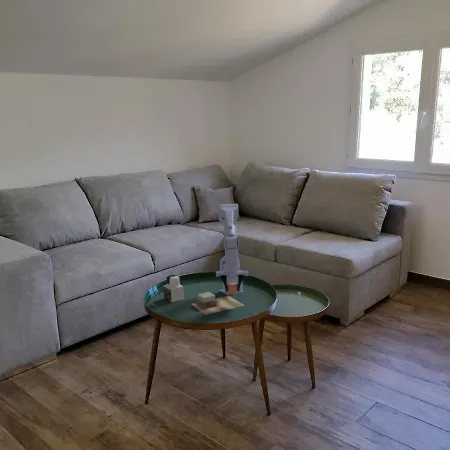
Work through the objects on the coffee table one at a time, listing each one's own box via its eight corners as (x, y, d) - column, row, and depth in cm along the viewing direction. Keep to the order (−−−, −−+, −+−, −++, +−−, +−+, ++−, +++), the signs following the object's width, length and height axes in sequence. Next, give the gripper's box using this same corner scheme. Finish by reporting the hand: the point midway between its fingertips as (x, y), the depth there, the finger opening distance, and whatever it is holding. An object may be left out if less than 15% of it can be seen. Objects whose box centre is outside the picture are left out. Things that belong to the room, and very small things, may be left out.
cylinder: (234, 290, 227) (234, 282, 226) (239, 293, 222) (239, 284, 222) (225, 292, 224) (225, 284, 223) (230, 295, 220) (230, 286, 219)
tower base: (209, 301, 231) (209, 296, 230) (216, 305, 225) (216, 300, 224) (196, 304, 227) (196, 299, 227) (203, 309, 221) (203, 303, 221)
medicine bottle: (163, 299, 236) (162, 275, 233) (176, 296, 240) (175, 272, 237) (171, 303, 230) (170, 279, 228) (184, 300, 234) (183, 276, 232)
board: (228, 296, 237) (228, 295, 237) (244, 306, 224) (244, 305, 224) (191, 305, 228) (191, 304, 228) (206, 315, 215) (206, 314, 215)
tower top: (209, 296, 229) (209, 291, 229) (215, 300, 224) (215, 295, 224) (197, 299, 226) (197, 294, 226) (203, 303, 221) (203, 298, 221)
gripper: (215, 265, 216) (216, 294, 219) (248, 264, 216) (248, 293, 219) (216, 260, 223) (216, 288, 226) (247, 260, 223) (248, 288, 226)
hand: (232, 290), depth 223 cm, fingers closed on cylinder, 5 cm apart
